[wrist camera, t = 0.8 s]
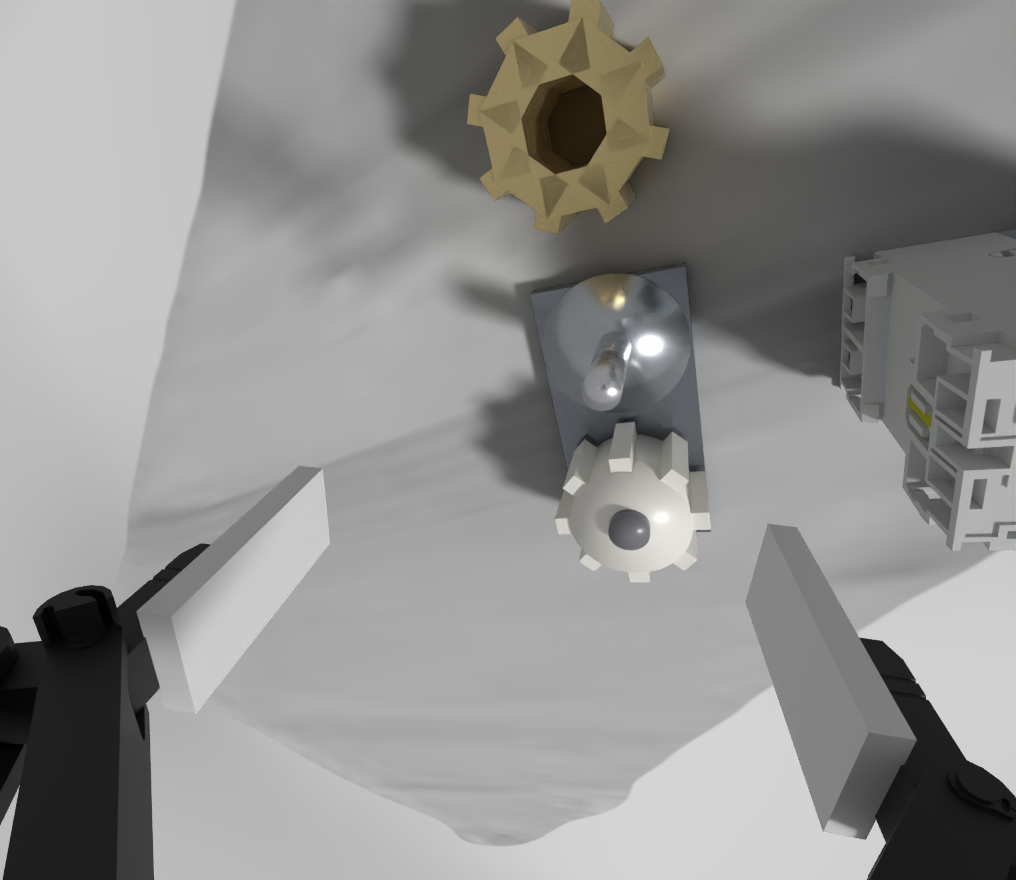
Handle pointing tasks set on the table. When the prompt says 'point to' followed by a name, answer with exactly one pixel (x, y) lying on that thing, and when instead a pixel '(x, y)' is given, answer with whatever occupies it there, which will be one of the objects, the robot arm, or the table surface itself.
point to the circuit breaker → (941, 375)
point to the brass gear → (534, 94)
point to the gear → (634, 503)
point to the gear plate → (645, 420)
